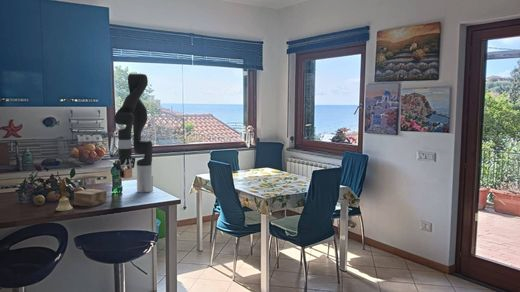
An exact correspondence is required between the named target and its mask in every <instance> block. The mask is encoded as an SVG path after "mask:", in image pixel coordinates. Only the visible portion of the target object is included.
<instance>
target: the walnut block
mask: <svg viewBox="0 0 520 292" xmlns="http://www.w3.org/2000/svg"><path fill="white" fill-rule="evenodd" d="M105 203H107V190H104V189H99V188H98V189H96V188H87V189H82V190H78V191H74V192H73V205H76V206H82V207H90V208H91V207H94V206H98V205H101V204H105Z"/></svg>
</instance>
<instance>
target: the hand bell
mask: <svg viewBox="0 0 520 292" xmlns="http://www.w3.org/2000/svg"><path fill="white" fill-rule="evenodd" d="M66 188H67V183H66V181H65V179H64V178H63V179H61V181H60V190H61V197H60V199H59V200H58V204H57V207H56V208H55V211H57V212H58V211H59V212H63V211H65V212H66V211H71V210H73V209H74V207H73V206H71V204H70V200H69V198H68V197H67V195H66Z"/></svg>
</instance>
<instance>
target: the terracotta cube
mask: <svg viewBox="0 0 520 292" xmlns="http://www.w3.org/2000/svg"><path fill="white" fill-rule="evenodd" d="M118 174H119V177H118V178H119V179H125V180H128V179H131V178H133V168H132V169H128V168H127V167H124V177H123V178H122V177H120V171H119V170H118Z"/></svg>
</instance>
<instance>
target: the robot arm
mask: <svg viewBox="0 0 520 292" xmlns="http://www.w3.org/2000/svg"><path fill="white" fill-rule="evenodd" d="M148 79H149V78H148V75H147V74H145V73H141V72H140V73H139V72H138V73H129V75H128V76H127V85H128V92H129V94H128V95H126V97H125V98H124V101H123V103H122V106H121V107H120V108H119V109H118V110H117V111H116V112H115V114H114V117H113V118H114V122H115V124H116V125H118V126H122V125H123V126H125V127H124V128H120V129H119V130H118V131H117V134H118V135H117V152H118V159H115V160H114V164H115V170H116V171H118V172H119V171H120V177H122V178H121V179H123V177H124V168H128V169H132V170H133V169H134V168H135V164H136V192H137V193H150V192H152V191H154V182H153V181H154V180H153V177H154V176H153V175H152V174H153V173H152V167H153V166H152V163H153V142H152V141H151V140H149V139H142V131H143V129H144V127H145V125H146V124H147V121H148V110H147V107H146V105H145V104H144V103H143V101H142V100H141V96H142V94H143V93H144V92H145V90H146V89H147V86H148V83H149V80H148ZM132 130H133V131H132ZM132 132H133V142H132ZM132 144H133V145H132ZM133 151H134V153H135V154H136V155H143V157H142V158H141V159H138V160H137V161H136V158H135V157H133V156H132V155H133Z"/></svg>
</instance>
